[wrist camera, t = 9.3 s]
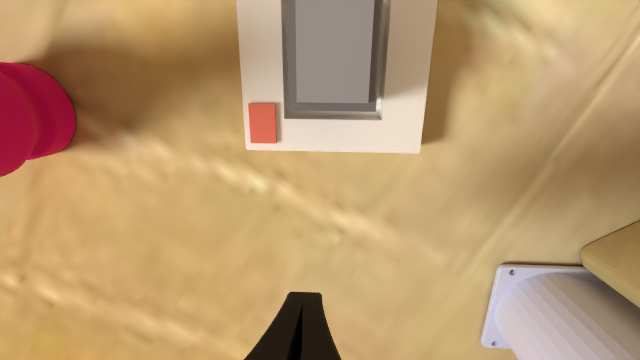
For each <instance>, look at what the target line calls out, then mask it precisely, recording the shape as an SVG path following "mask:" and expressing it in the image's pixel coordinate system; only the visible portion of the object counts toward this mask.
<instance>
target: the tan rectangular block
mask: <svg viewBox="0 0 640 360" xmlns="http://www.w3.org/2000/svg"><path fill="white" fill-rule="evenodd" d="M580 256H581V261H582V264H583V266H584V267H585V268H586V269H588V270H589V271H590V272H592V273H593V274H594V275H596V276H597V277H598V278H600V279H601V280H602V281H604V282H605V283H606V284H608V285H609V286H611V287H612V288H613V289H615V290H616V291H617V292H619V293H620V294H621V295H623V296H624V297H625V298H627V299H628V300H629V301H631V302H632V303H634V304H635V305H636V306H638V307H639V308H640V221H638V222H636V223H634V224H632V225H629V226H627V227H625V228H623V229H620V230H618V231H616V232H614V233H611V234H609V235H607V236H605V237H603V238H600V239H598V240H596V241H594V242H592V243H590V244H588V245H587V246H585V247H584V248H583V249H582V250H581V252H580Z"/></svg>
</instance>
